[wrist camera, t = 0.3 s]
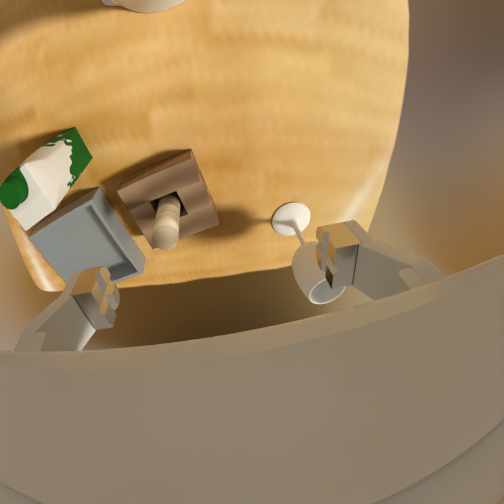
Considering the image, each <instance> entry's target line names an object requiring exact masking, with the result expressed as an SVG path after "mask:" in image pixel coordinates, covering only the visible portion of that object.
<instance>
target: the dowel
mask: <svg viewBox="0 0 504 504" xmlns="http://www.w3.org/2000/svg"><path fill="white" fill-rule="evenodd" d="M180 204H181V199H180V197H179V195H178V193H177V191H174V192H172V193H169V194H167V195H165V196H162V197H160V199H159V204H158V209H157V214H156V219H155V224H154V230H153V235H152V241H153V244H154V245H155V246H156V247H158V248H159V249H163V250H169V249H172V248H174V247H175V246H176V245H177V243H178V236H179V219H180Z"/></svg>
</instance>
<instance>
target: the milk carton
mask: <svg viewBox="0 0 504 504" xmlns="http://www.w3.org/2000/svg"><path fill="white" fill-rule="evenodd" d="M91 159H92V156H91V154H90V153H89V151H88V149H87V147H86V146H85V144H84V142H83V140H82V138H81V137H80V135H79V133H78V131H77V129H76V128H75V127H74V128H72V129H70V130H68V131H66V132H64V133H62V134H60V135H58V136H56V137H54V138H53V139H51V140H50V141H48V142H47V143H45V144H44V145H43V146H41V147H40V148H39V149H37V150H36V151H35V152H34V153H32V154H31V155H30V156H29V157H28V158H26V159H25V160H24V161H23V162H22V164H21V165H20V166H19V167H18V168H17V169H16V170H15V171H14V172H12V173H11V174H10V175H9V176H8V177H7V179H6V180H5V181H4V182H3V183H2V184H1V186H0V201H1V203H2V204H3V206H4V207H6V208H7V209H9V210H10V212H11V214H12V215H13V217H14V218H15V219H17V220H18V222H19V223H20V225H21V226H22V227H23V228H24V230H25V231H27V230H28V229H29V228H31V227H32V226H33V225H35V224H36V223H37V222H39V221H40V220H41V219H43V218H44V217H45V216H47V215H48V214H49V213H51V212H52V211H54V210H55V209H56V207H57V206H58V204H59V203H60V202H61V200H62V199H63V197H64V196H65V195H66V193H67V192H68V191H69V189H70V188H71V187H72V185H73V184H74V183H75V181H76V180H77V179H78V177H79V176H80V175H81V173H82V172H83V170H84V169H85V167H86V166H87V165H88V163H89V162H90V160H91Z"/></svg>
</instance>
